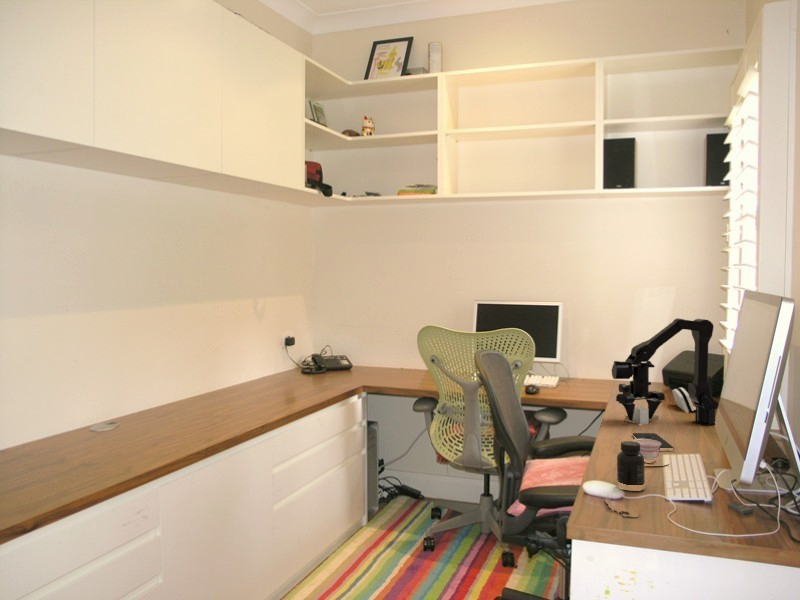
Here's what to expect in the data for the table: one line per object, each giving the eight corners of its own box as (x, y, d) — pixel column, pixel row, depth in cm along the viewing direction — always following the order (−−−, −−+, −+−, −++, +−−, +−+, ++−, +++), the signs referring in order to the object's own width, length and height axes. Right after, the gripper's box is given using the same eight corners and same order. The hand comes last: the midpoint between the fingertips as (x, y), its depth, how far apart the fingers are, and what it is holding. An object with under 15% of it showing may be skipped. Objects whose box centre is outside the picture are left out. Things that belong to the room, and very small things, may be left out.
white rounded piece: (699, 413, 263) (690, 390, 263) (687, 416, 264) (678, 393, 264) (688, 405, 279) (680, 383, 279) (677, 408, 280) (669, 387, 280)
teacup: (617, 459, 196) (617, 439, 196) (647, 455, 200) (647, 435, 200) (647, 470, 185) (647, 448, 185) (678, 465, 189) (678, 444, 189)
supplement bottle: (638, 484, 172) (638, 439, 171) (649, 492, 165) (649, 446, 164) (613, 484, 171) (613, 440, 171) (622, 493, 164) (622, 446, 164)
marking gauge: (648, 424, 243) (648, 408, 243) (639, 425, 241) (640, 409, 241) (632, 419, 251) (633, 404, 251) (624, 420, 249) (624, 405, 249)
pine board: (658, 419, 250) (658, 414, 250) (631, 422, 246) (631, 417, 245) (651, 418, 253) (652, 413, 253) (625, 420, 249) (625, 415, 249)
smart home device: (656, 432, 224) (675, 447, 204) (656, 437, 224) (674, 453, 204) (631, 432, 225) (648, 447, 205) (631, 437, 225) (648, 452, 205)
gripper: (645, 374, 254) (644, 413, 255) (606, 377, 248) (606, 417, 248) (665, 378, 244) (665, 419, 244) (626, 381, 237) (626, 423, 238)
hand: (640, 419), depth 244 cm, fingers open, 9 cm apart
